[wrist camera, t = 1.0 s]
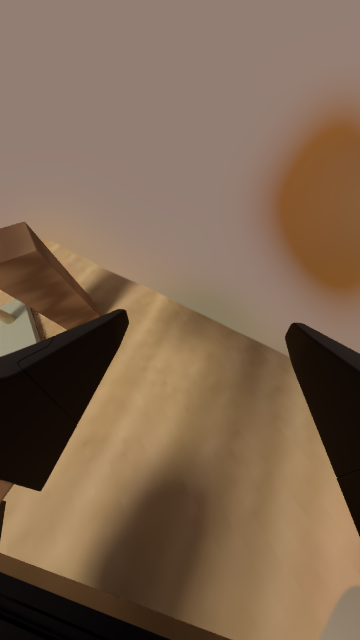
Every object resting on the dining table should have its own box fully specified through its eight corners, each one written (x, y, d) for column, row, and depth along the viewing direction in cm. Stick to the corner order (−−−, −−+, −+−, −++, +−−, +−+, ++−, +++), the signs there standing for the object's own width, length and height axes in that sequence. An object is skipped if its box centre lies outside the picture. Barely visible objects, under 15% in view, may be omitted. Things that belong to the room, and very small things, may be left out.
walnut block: (73, 333, 23) (-28, 272, 12) (64, 311, 25) (-34, 238, 13) (101, 318, 25) (36, 250, 13) (91, 298, 26) (24, 221, 14)
